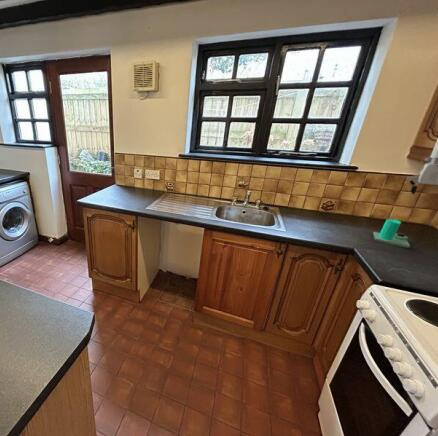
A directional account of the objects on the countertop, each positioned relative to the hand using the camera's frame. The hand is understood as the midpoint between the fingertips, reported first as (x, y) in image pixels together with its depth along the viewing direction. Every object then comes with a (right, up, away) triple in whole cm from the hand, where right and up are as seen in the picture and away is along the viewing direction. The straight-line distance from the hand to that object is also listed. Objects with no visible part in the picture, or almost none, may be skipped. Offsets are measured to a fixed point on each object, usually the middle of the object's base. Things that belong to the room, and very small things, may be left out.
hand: (425, 195), depth 126 cm
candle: (-9, -23, +13) cm, 28 cm away
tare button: (-1, -22, +12) cm, 25 cm away
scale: (-6, -25, +13) cm, 29 cm away
